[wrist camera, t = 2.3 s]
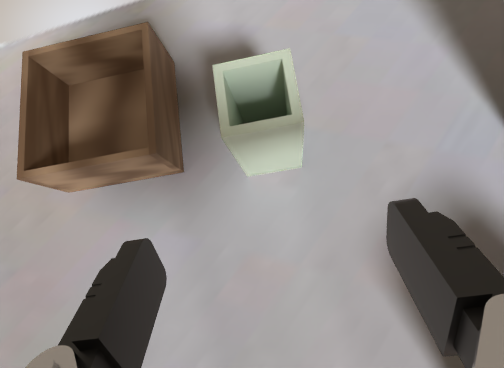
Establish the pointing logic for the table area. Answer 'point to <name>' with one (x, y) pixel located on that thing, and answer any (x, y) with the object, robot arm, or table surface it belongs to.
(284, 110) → the green square vase
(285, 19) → the table surface
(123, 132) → the walnut crate
